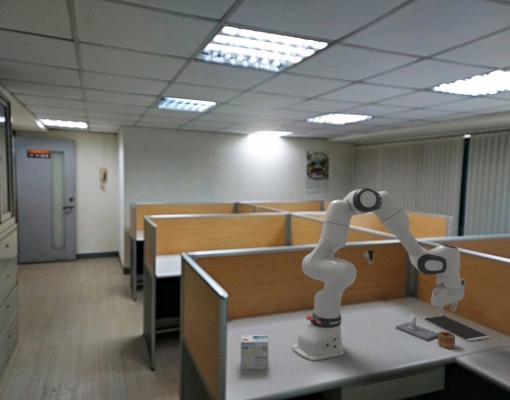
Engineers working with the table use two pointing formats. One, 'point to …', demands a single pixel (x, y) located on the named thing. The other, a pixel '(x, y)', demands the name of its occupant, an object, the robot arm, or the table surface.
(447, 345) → the ring
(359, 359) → the table surface
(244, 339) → the light bulb box
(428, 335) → the post stand
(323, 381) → the table surface
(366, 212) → the robot arm
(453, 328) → the smartphone
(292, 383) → the table surface
